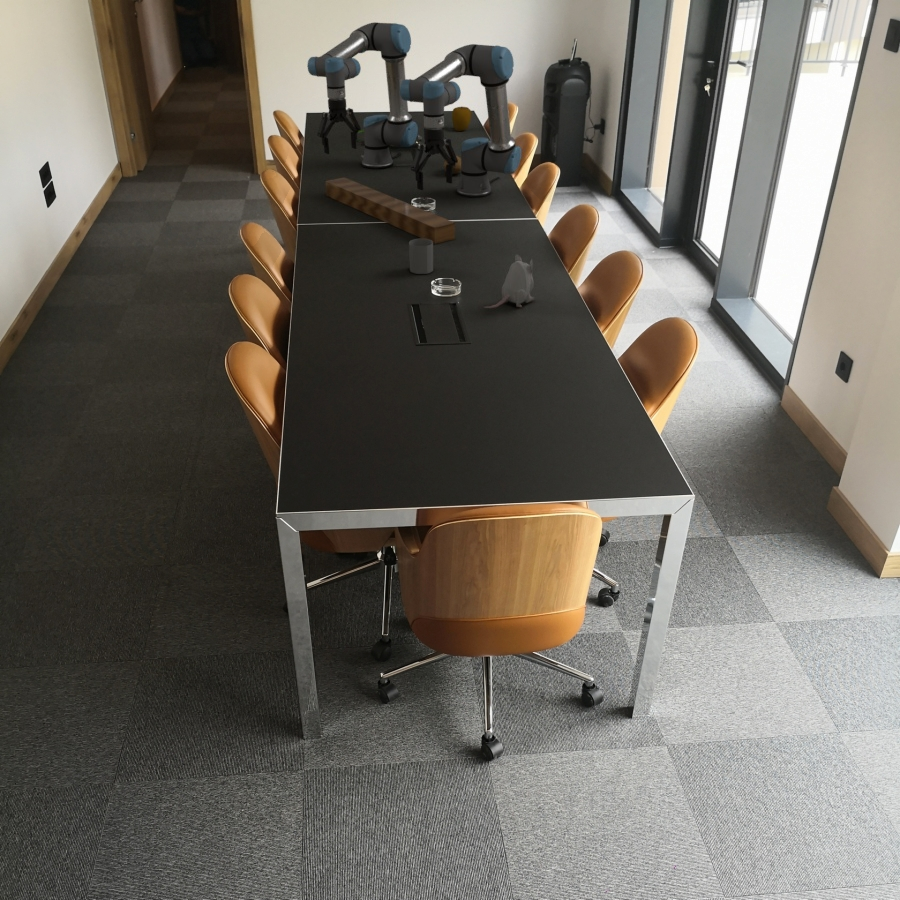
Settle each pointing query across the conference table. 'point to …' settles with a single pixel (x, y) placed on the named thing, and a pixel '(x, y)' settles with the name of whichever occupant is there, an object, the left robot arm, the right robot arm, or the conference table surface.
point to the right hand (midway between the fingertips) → (434, 186)
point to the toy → (517, 283)
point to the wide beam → (391, 210)
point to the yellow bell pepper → (461, 118)
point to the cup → (421, 256)
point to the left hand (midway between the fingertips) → (340, 150)
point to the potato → (457, 166)
